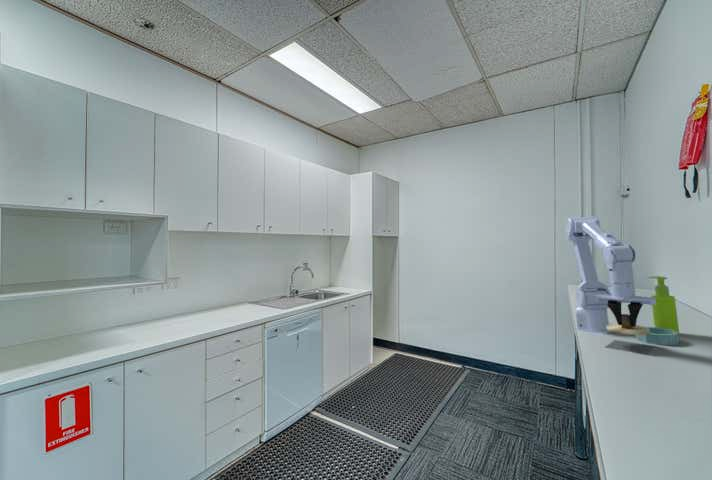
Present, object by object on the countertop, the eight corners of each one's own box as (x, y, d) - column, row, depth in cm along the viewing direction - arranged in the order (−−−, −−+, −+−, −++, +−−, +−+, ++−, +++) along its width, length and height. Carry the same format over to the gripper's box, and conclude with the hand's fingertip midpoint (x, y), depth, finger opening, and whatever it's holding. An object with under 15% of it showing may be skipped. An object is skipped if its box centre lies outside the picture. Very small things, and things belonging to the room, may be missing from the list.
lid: (601, 330, 97) (599, 315, 98) (612, 324, 103) (610, 310, 104) (644, 336, 89) (642, 320, 89) (654, 329, 95) (652, 314, 95)
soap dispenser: (665, 330, 109) (659, 275, 110) (684, 335, 102) (677, 276, 103) (648, 331, 110) (641, 276, 111) (665, 336, 103) (658, 278, 104)
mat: (604, 348, 97) (604, 347, 97) (615, 341, 103) (615, 339, 103) (646, 355, 89) (646, 354, 89) (655, 347, 95) (655, 346, 95)
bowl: (632, 342, 101) (631, 331, 101) (641, 335, 106) (640, 325, 106) (674, 348, 93) (673, 336, 93) (681, 340, 98) (680, 330, 98)
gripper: (590, 283, 100) (594, 324, 100) (649, 285, 88) (654, 332, 88) (597, 280, 104) (602, 320, 104) (655, 282, 92) (661, 326, 92)
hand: (626, 325), depth 96 cm, fingers closed on lid, 3 cm apart
